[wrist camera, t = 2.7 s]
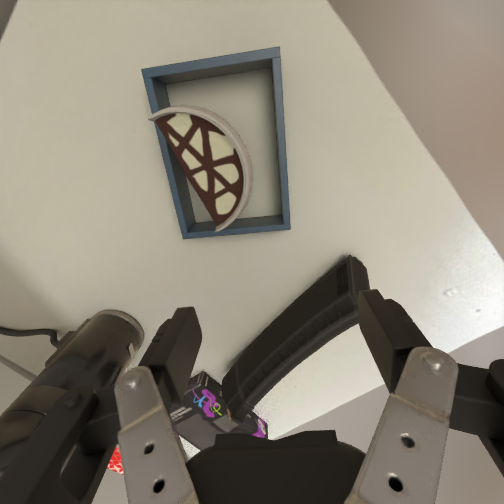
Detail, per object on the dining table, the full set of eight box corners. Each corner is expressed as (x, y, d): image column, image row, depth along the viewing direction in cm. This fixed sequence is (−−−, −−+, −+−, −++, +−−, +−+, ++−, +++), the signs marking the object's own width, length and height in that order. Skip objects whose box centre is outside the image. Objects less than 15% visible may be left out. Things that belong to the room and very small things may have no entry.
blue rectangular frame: (191, 228, 37) (182, 239, 33) (156, 76, 29) (140, 69, 25) (288, 219, 35) (290, 229, 31) (278, 57, 28) (279, 46, 24)
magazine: (387, 268, 27) (220, 473, 30) (408, 285, 28) (242, 484, 31) (324, 242, 44) (220, 375, 47) (338, 253, 45) (234, 383, 47)
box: (268, 422, 54) (204, 369, 48) (268, 440, 51) (200, 385, 45) (219, 444, 58) (154, 398, 52) (216, 462, 55) (147, 415, 49)
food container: (272, 188, 33) (274, 210, 24) (231, 209, 35) (218, 236, 26) (225, 89, 29) (206, 70, 20) (181, 117, 31) (143, 112, 22)
